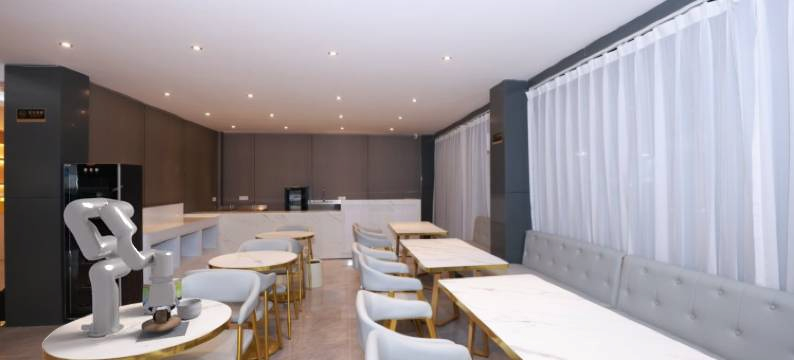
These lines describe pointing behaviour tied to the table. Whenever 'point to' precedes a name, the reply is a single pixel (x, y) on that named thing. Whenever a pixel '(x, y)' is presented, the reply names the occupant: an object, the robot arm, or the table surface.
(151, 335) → the slate mat
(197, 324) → the table surface
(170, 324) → the walnut lid
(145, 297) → the tea box
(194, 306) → the teacup
